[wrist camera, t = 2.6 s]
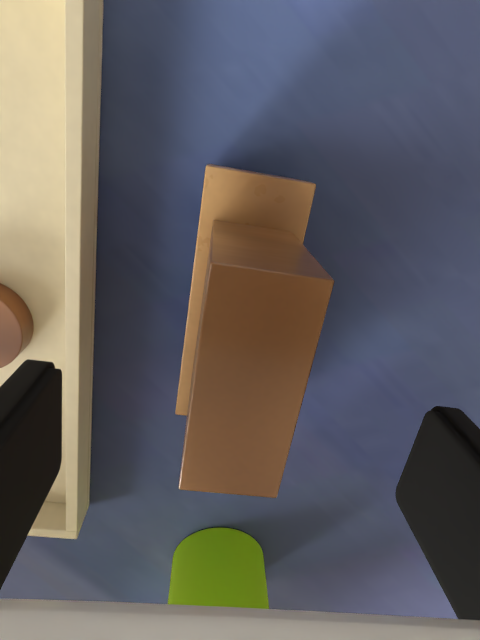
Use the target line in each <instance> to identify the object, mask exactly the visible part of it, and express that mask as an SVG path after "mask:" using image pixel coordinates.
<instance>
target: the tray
mask: <svg viewBox="0 0 480 640" xmlns="http://www.w3.org/2000/svg"><path fill="white" fill-rule="evenodd" d="M102 34H103V0H0V283H1V284H3V285H5V286H7V287H9V288H10V289H12V290H13V291H14V292H16V293H17V294H18V295H19V296H20V297H21V298H22V299H23V301H24V302H25V303H26V305H27V306H28V308H29V310H30V312H31V315H32V318H33V324H34V330H33V336H32V338H31V341H30V343H29V344H28V346H27V347H26V348H25V349H24V350H23V351H22V352H21V353H20V354H19V355H18V356H17V357H16V358H15V359H14V360H13V361H12V362H11V363H10V364H8V365H6V366H4V367H2V368H0V387H1V386H2V384H3V383H4V382H5V381H6V380H7V379H8V378H9V377H10V376H11V375H12V374H13V373H14V372H15V371H16V370H17V369H18V368H19V366H20V365H21V364H22V363H23V362H24V361H25V360H27V359H30V360H39V361H48V362H53V363H54V366H55V368H56V369H61V371H62V461H61V466H60V470H59V473H58V475H57V477H56V479H55V481H54V483H53V485H52V487H51V489H50V491H49V493H48V495H47V497H46V499H45V501H44V503H43V505H42V507H41V509H40V511H39V513H38V515H37V517H36V519H35V521H34V523H33V525H32V527H31V529H30V531H29V533H28V535H27V536H40V537H54V538H68V539H77V537H78V535H79V532H80V529H81V526H82V524H83V521H84V518H85V515H86V513H87V510H88V507H89V495H90V460H91V424H92V389H93V353H94V318H95V282H96V247H97V211H98V176H99V140H100V105H101V69H102Z"/></svg>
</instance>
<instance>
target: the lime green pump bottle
mask: <svg viewBox="0 0 480 640" xmlns="http://www.w3.org/2000/svg"><path fill="white" fill-rule="evenodd" d="M168 604H174V605H196V606H218V607H240V608H260V609H269V603H268V594H267V585H266V576H265V566H264V557H263V552H262V549H261V547H260V545H259V544H258V542H257V541H256V540H255V539H254V538H252V537H251V536H250V535H248V534H246V533H244V532H242V531H239V530H235V529H230V528H210V529H205V530H201V531H198V532H196V533H193V534H192V535H190V536H188V537H187V538H185V539H184V540H183V541H182V542H181V543H180V544H179V545H178V547H177V548H176V550H175V552H174V555H173V562H172V571H171V580H170V589H169V598H168Z"/></svg>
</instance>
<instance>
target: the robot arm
mask: <svg viewBox="0 0 480 640" xmlns="http://www.w3.org/2000/svg"><path fill="white" fill-rule="evenodd" d="M61 461H62V371H61V369H56V368H55V366H54V363H53V362H48V361H39V360H30V359H27V360H25V361H24V362H23V363H22V364H21V365H20V366H19V368H18V369H17V370H16V371H15V372H14V373H13V374H12V375H11V376H10V377H9V378H8V379H7V380H6V381H5V382H4V383H3V384H2V386H1V387H0V589H1V587H2V585H3V583H4V581H5V579H6V577H7V575H8V573H9V571H10V569H11V567H12V565H13V563H14V561H15V559H16V557H17V555H18V553H19V551H20V549H21V547H22V545H23V543H24V541H25V539H26V537H27V535H28V533H29V531H30V529H31V527H32V525H33V523H34V521H35V519H36V517H37V515H38V513H39V511H40V509H41V507H42V505H43V503H44V501H45V499H46V497H47V495H48V493H49V491H50V489H51V487H52V485H53V483H54V481H55V479H56V477H57V475H58V473H59V470H60V466H61ZM396 501H397V503H398V505H399V507H400V509H401V511H402V513H403V515H404V517H405V519H406V521H407V522H408V524H409V526H410V528H411V530H412V532H413V534H414V536H415V538H416V540H417V541H418V543H419V545H420V547H421V549H422V551H423V553H424V555H425V557H426V559H427V560H428V562H429V564H430V566H431V568H432V570H433V572H434V574H435V576H436V578H437V579H438V581H439V583H440V585H441V587H442V589H443V591H444V593H445V595H446V596H447V598H448V600H449V602H450V604H451V606H452V608H453V610H454V612H455V614H456V615H457V617H458V619H447V618H430V617H413V616H395V615H376V614H357V613H338V612H319V611H300V610H280V609H260V608H240V607H218V606H196V605H174V604H152V603H131V602H109V601H76V600H40V599H0V640H480V429H479V428H478V427H477V426H476V425H475V424H474V423H473V422H472V421H471V420H470V419H469V418H468V417H467V416H466V415H465V414H464V412H463V411H461V410H460V409H457V408H450V407H441V406H436V407H434V408H433V409H432V410H431V411H428V412H427V413H426V414H425V416H424V418H423V421H422V423H421V426H420V429H419V431H418V434H417V436H416V439H415V441H414V444H413V447H412V449H411V452H410V454H409V457H408V459H407V462H406V465H405V467H404V470H403V472H402V475H401V477H400V480H399V482H398V485H397V488H396Z"/></svg>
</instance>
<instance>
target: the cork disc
mask: <svg viewBox="0 0 480 640" xmlns="http://www.w3.org/2000/svg"><path fill="white" fill-rule="evenodd" d="M33 330H34V324H33V318H32V315H31V312H30V310H29V308H28V306H27V305H26V303H25V302H24V301H23V299H22V298H21V297H20V296H19V295H18V294H17V293H16V292H14V291H13V290H12V289H10V288H9V287H7V286H5V285H3V284H1V283H0V368H2V367H4V366H6V365H8V364H10V363H11V362H12V361H13V360H14V359H15V358H16V357H17V356H18V355H19V354H20V353H21V352H22V351H23V350H24V349H25V348H26V347H27V346H28V344H29V343H30V341H31V338H32V336H33Z"/></svg>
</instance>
